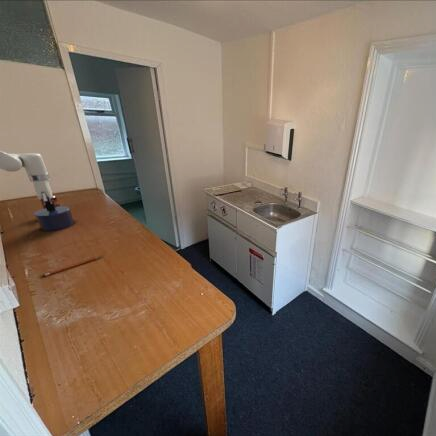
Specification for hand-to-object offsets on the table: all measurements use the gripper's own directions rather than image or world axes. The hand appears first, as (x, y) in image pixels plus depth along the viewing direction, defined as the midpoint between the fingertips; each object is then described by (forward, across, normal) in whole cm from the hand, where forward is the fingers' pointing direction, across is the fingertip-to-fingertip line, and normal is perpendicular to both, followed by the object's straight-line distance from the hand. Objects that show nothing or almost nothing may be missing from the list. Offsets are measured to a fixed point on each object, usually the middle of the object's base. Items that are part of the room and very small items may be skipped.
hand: (51, 209), depth 130 cm
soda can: (+10, -21, -3) cm, 24 cm away
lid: (+2, 0, 0) cm, 2 cm away
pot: (+10, 0, 0) cm, 10 cm away
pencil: (+11, +55, +8) cm, 57 cm away
